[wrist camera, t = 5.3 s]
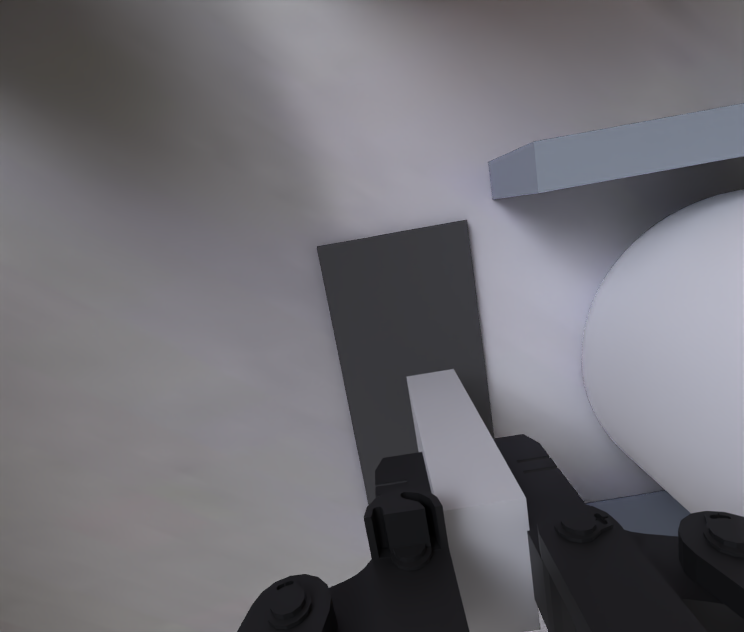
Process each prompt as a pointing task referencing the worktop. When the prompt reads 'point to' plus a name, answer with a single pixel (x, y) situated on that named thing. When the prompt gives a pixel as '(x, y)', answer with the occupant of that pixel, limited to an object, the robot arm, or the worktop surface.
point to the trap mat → (402, 330)
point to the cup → (676, 354)
